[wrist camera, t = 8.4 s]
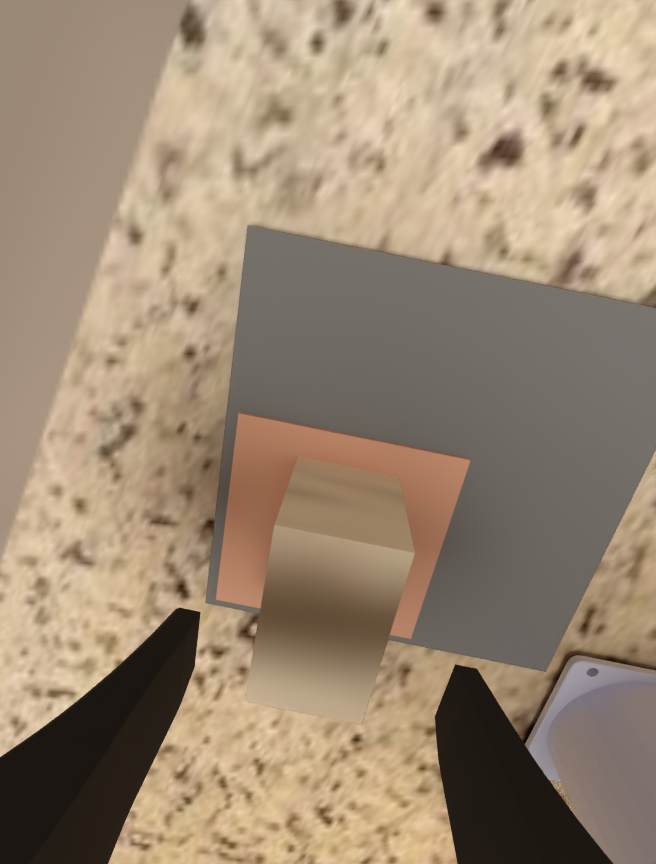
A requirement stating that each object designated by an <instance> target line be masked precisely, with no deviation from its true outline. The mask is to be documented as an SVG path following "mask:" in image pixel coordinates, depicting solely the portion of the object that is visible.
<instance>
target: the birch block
mask: <svg viewBox="0 0 656 864" xmlns="http://www.w3.org/2000/svg"><path fill="white" fill-rule="evenodd" d="M414 554H415V551H414V546H413V542H412V537H411V532H410V527H409V522H408V517H407V513H406V508H405V503H404V498H403V493H402V489H401V484H400V479H399V476H397V475H392V474H387V473H382V472H377V471H372V470H367V469H362V468H357V467H353V466H348V465H343V464H338V463H333V462H328V461H323V460H318V459H313V458H308V457H303V456H298V458H297V461H296V464H295V467H294V469H293V472H292V475H291V478H290V481H289V484H288V487H287V490H286V493H285V496H284V498H283V501H282V504H281V507H280V510H279V513H278V516H277V519H276V522H275V525H274V530H273V536H272V542H271V548H270V554H269V560H268V566H267V572H266V578H265V584H264V590H263V596H262V602H261V608H260V614H259V620H258V626H257V632H256V638H255V643H254V649H253V655H252V661H251V667H250V673H249V679H248V685H247V691H246V697H245V702H249V703H254V704H259V705H264V706H269V707H274V708H279V709H284V710H289V711H294V712H299V713H304V714H309V715H314V716H319V717H324V718H329V719H334V720H339V721H344V722H349V723H354V724H359V725H362V722H363V719H364V716H365V713H366V709H367V706H368V703H369V700H370V697H371V693H372V690H373V687H374V684H375V680H376V677H377V674H378V671H379V667H380V664H381V661H382V658H383V655H384V651H385V648H386V645H387V642H388V638H389V635H390V632H391V629H392V625H393V622H394V619H395V616H396V613H397V609H398V606H399V603H400V600H401V596H402V593H403V590H404V587H405V583H406V580H407V577H408V574H409V571H410V567H411V564H412V561H413V558H414Z"/></svg>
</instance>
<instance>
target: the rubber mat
mask: <svg viewBox="0 0 656 864" xmlns="http://www.w3.org/2000/svg"><path fill="white" fill-rule="evenodd" d="M655 450H656V308H654V307H649V306H644V305H639V304H634V303H629V302H624V301H619V300H614V299H610V298H605V297H600V296H595V295H590V294H585V293H580V292H575V291H570V290H565V289H560V288H555V287H550V286H545V285H540V284H535V283H530V282H525V281H521V280H516V279H511V278H506V277H501V276H496V275H491V274H486V273H481V272H476V271H471V270H466V269H461V268H456V267H451V266H446V265H441V264H436V263H431V262H427V261H422V260H417V259H412V258H407V257H402V256H397V255H392V254H387V253H382V252H377V251H372V250H367V249H362V248H357V247H352V246H347V245H342V244H338V243H333V242H328V241H323V240H318V239H313V238H308V237H303V236H298V235H293V234H288V233H283V232H278V231H273V230H268V229H263V228H258V227H253V226H248V228H247V236H246V245H245V254H244V263H243V272H242V281H241V290H240V299H239V308H238V317H237V326H236V335H235V344H234V353H233V362H232V371H231V379H230V388H229V397H228V406H227V415H226V424H225V433H224V442H223V451H222V460H221V469H220V478H219V487H218V496H217V505H216V513H215V522H214V531H213V540H212V549H211V558H210V567H209V576H208V585H207V594H206V603H208V604H213V605H218V606H223V607H228V608H233V609H238V610H243V611H248V612H253V613H258V614H260V608H261V602H262V596H263V590H264V584H265V578H266V572H267V566H268V560H269V554H270V548H271V542H272V536H273V530H274V525H275V522H276V519H277V516H278V513H279V510H280V507H281V504H282V501H283V498H284V496H285V493H286V490H287V487H288V484H289V481H290V478H291V475H292V472H293V469H294V467H295V464H296V461H297V458H298V456H303V457H308V458H313V459H318V460H323V461H328V462H333V463H338V464H343V465H348V466H353V467H357V468H362V469H367V470H372V471H377V472H382V473H387V474H392V475H397V476H399V479H400V484H401V489H402V493H403V498H404V503H405V508H406V513H407V517H408V522H409V527H410V532H411V537H412V542H413V546H414V551H415V554H414V558H413V561H412V564H411V567H410V571H409V574H408V577H407V580H406V583H405V587H404V590H403V593H402V596H401V600H400V603H399V606H398V609H397V613H396V616H395V619H394V622H393V625H392V629H391V632H390V635H389V638H388V640H392V641H396V642H401V643H406V644H411V645H416V646H421V647H426V648H431V649H436V650H441V651H446V652H451V653H456V654H461V655H466V656H471V657H476V658H481V659H486V660H490V661H495V662H500V663H505V664H510V665H515V666H520V667H525V668H530V669H535V670H540V671H545V672H546V670H547V668H548V666H549V664H550V662H551V660H552V658H553V656H554V654H555V652H556V650H557V648H558V646H559V644H560V642H561V640H562V638H563V636H564V634H565V632H566V630H567V628H568V626H569V624H570V622H571V620H572V618H573V616H574V614H575V612H576V610H577V608H578V606H579V604H580V602H581V600H582V598H583V596H584V594H585V592H586V590H587V587H588V585H589V583H590V581H591V579H592V577H593V575H594V573H595V571H596V569H597V567H598V565H599V563H600V561H601V559H602V557H603V555H604V553H605V551H606V549H607V547H608V545H609V543H610V541H611V539H612V537H613V535H614V533H615V531H616V529H617V527H618V525H619V523H620V521H621V519H622V517H623V515H624V513H625V511H626V509H627V507H628V505H629V503H630V501H631V499H632V497H633V495H634V493H635V491H636V489H637V487H638V485H639V483H640V481H641V479H642V477H643V475H644V473H645V471H646V469H647V467H648V465H649V463H650V460H651V458H652V456H653V454H654V452H655Z"/></svg>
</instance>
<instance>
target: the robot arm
mask: <svg viewBox="0 0 656 864" xmlns="http://www.w3.org/2000/svg"><path fill="white" fill-rule="evenodd" d="M199 621H200V612H198V611H193V610H188V609H183V608H178V609H176V610H174V611H173V613H172V614H171V615H170V616H169V617H168V618H167V619H166V620H165V621H164V622H163V623H162V624H161V625H160V626H159V627H158V628H157V629H156V630H155V632H154V633H153V634H152V635H151V636H150V637H148V638H147V639H146V640H145V641H144V642H143V643H142V644H141V645H140V646H139V647H138V648H137V649H136V650H135V651H134V652H133V653H132V654H131V655H130V656H129V657H128V658H126V659H125V660H124V661H123V662H122V663H121V664H120V665H119V666H118V667H117V668H116V669H115V670H113V671H112V672H111V673H110V674H109V675H108V676H106V677H105V678H104V679H103V680H102V681H101V682H99V683H98V684H97V685H96V686H95V687H94V688H92V689H91V690H90V691H89V692H88V693H86V694H85V695H84V696H83V697H82V698H80V699H79V700H78V701H77V702H75V703H74V704H73V705H72V706H70V707H69V708H68V709H67V710H65V711H64V712H63V713H61V714H60V715H59V716H58V717H56V718H55V719H54V720H52V721H51V722H49V723H48V724H47V725H45V726H44V727H43V728H41V729H40V730H39V731H37V732H36V733H34V734H33V735H32V736H30V737H29V738H27V739H26V740H24V741H23V742H22V743H20V744H19V745H17V746H16V747H14V748H13V749H12V750H10V751H9V752H7V753H6V754H4V755H3V756H1V757H0V864H108V862H109V860H110V857H111V855H112V852H113V850H114V847H115V845H116V842H117V840H118V837H119V835H120V832H121V830H122V827H123V825H124V822H125V820H126V818H127V816H128V813H129V811H130V809H131V807H132V804H133V802H134V800H135V798H136V796H137V794H138V792H139V790H140V788H141V786H142V783H143V781H144V779H145V777H146V775H147V773H148V771H149V769H150V767H151V765H152V763H153V761H154V759H155V757H156V755H157V753H158V751H159V748H160V746H161V744H162V742H163V740H164V738H165V736H166V734H167V732H168V730H169V728H170V726H171V724H172V722H173V720H174V717H175V715H176V713H177V711H178V709H179V707H180V704H181V702H182V699H183V697H184V694H185V691H186V689H187V686H188V683H189V680H190V678H191V675H192V672H193V669H194V667H195V658H196V648H197V639H198V630H199ZM435 723H436V737H437V749H438V760H439V765H440V771H441V777H442V782H443V788H444V793H445V799H446V804H447V809H448V814H449V820H450V825H451V830H452V836H453V841H454V846H455V852H456V857H457V862H458V864H656V671H655V670H651V669H646V668H641V667H636V666H631V665H626V664H621V663H616V662H611V661H606V660H601V659H596V658H591V657H586V656H579V655H577V656H573V657H572V658H570V659H569V660H568V662H567V664H566V666H565V668H564V670H563V671H562V673H561V675H560V677H559V679H558V681H557V683H556V685H555V687H554V689H553V691H552V693H551V695H550V697H549V699H548V701H547V703H546V705H545V706H544V708H543V710H542V712H541V714H540V716H539V718H538V720H537V722H536V724H535V726H534V728H533V730H532V732H531V734H530V736H529V738H528V740H527V741H526V743H525V744H524V743H523V741H522V740H521V738H520V737H519V735H518V734H517V732H516V731H515V729H514V727H513V726H512V724H511V723H510V721H509V720H508V718H507V716H506V715H505V713H504V712H503V710H502V708H501V707H500V705H499V704H498V702H497V700H496V699H495V697H494V696H493V694H492V692H491V691H490V689H489V687H488V686H487V684H486V683H485V681H484V679H483V678H482V676H481V675H480V673H479V671H478V670H477V669H474V668H470V667H465V666H460V665H455V667H454V669H453V672H452V674H451V677H450V679H449V682H448V684H447V687H446V690H445V692H444V695H443V697H442V700H441V702H440V705H439V707H438V710H437V713H436V715H435ZM549 780H551V781H556V782H561V783H562V786H563V788H564V791H565V793H566V796H567V798H568V801H569V803H570V806H571V808H572V811H573V812H572V811H571V810H570V808H569V807H568V806H567V805H566V803H565V802H564V800H563V799H562V798H561V796H560V795H559V794H558V792H557V791H556V789H555V788H554V787H553V785H552V784H551V782H550V781H549ZM573 813H574V814H573Z"/></svg>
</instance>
